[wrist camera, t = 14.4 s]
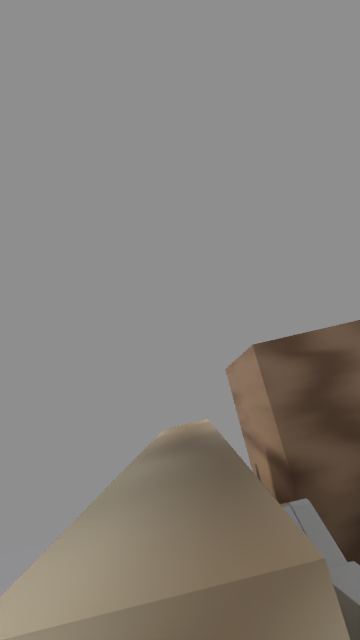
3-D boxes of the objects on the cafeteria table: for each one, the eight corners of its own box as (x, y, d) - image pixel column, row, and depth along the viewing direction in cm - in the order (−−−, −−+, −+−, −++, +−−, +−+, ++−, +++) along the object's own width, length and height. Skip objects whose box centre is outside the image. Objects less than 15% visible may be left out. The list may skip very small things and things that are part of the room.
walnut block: (424, 948, 12) (247, 345, 19) (290, 631, 28) (221, 370, 35) (614, 894, 12) (369, 316, 19) (372, 610, 28) (287, 354, 35)
